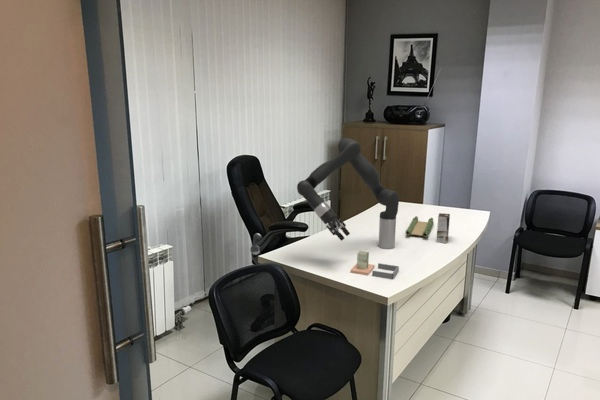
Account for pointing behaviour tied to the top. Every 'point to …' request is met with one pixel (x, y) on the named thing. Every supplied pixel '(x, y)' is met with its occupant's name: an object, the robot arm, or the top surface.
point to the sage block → (362, 259)
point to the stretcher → (420, 227)
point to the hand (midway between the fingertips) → (345, 237)
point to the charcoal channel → (384, 274)
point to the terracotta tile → (362, 270)
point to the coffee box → (443, 228)
